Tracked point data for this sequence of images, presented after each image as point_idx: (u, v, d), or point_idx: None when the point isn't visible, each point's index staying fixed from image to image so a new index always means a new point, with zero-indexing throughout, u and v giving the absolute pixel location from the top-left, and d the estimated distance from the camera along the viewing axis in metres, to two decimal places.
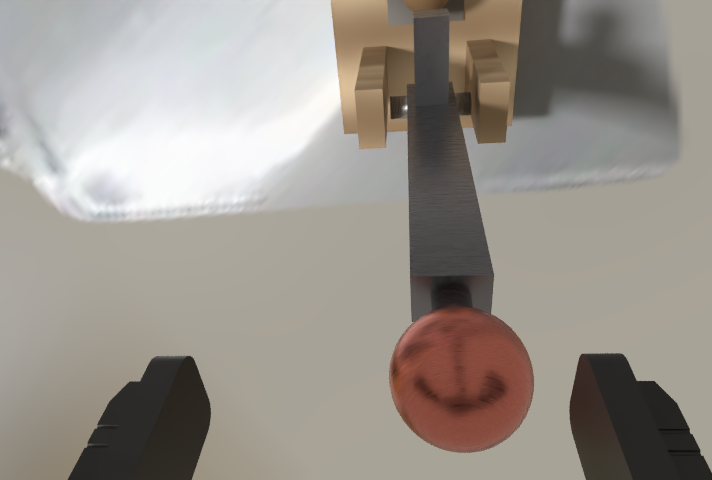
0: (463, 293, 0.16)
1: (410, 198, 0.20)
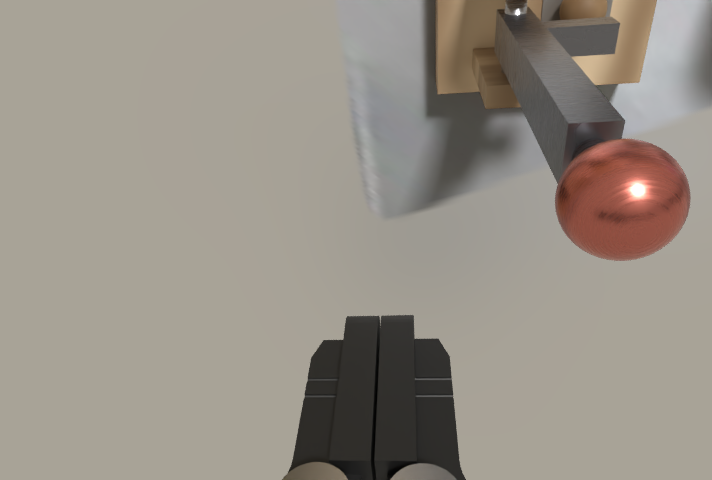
0: None
1: None
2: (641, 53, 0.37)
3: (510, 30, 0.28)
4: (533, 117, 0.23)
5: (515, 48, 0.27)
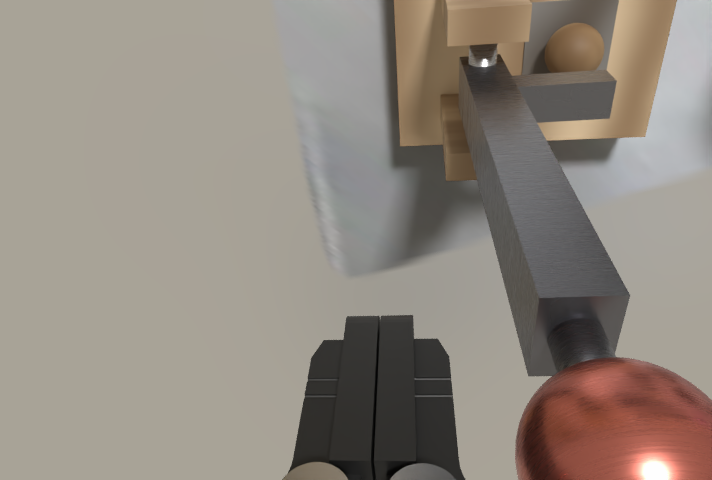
0: None
1: (571, 188, 0.15)
2: (647, 103, 0.30)
3: (472, 93, 0.21)
4: (497, 235, 0.16)
5: (477, 122, 0.20)
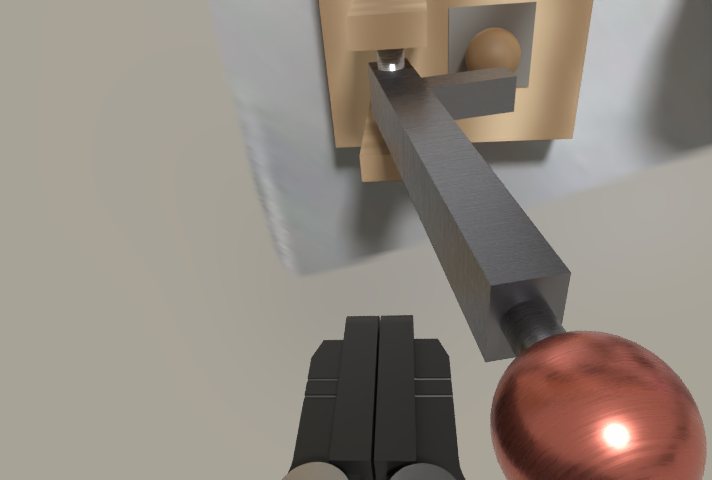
0: None
1: (498, 179, 0.16)
2: (572, 105, 0.31)
3: (387, 97, 0.22)
4: (432, 231, 0.17)
5: (396, 124, 0.20)
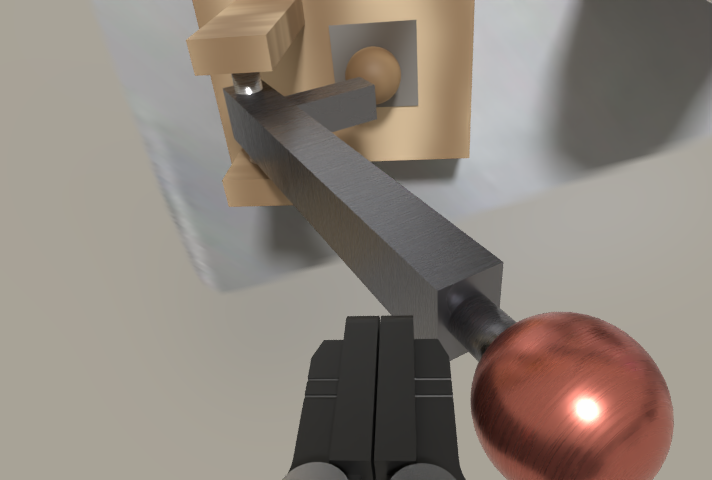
0: None
1: (400, 186, 0.16)
2: (465, 124, 0.30)
3: (257, 120, 0.21)
4: (344, 248, 0.17)
5: (276, 147, 0.20)
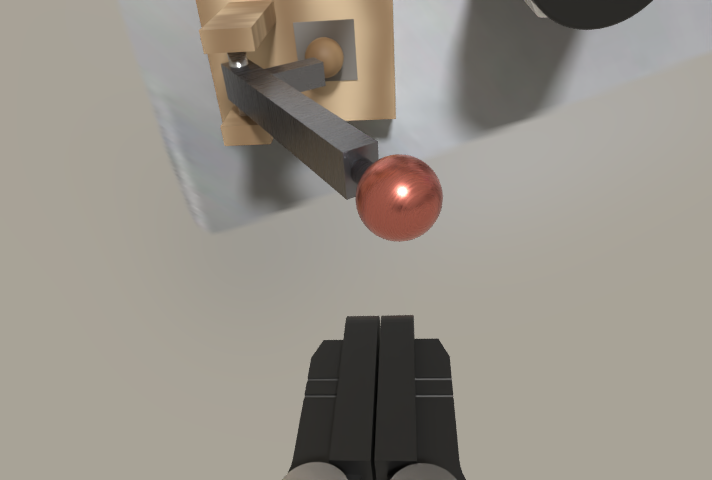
0: None
1: None
2: (391, 94, 0.42)
3: (246, 82, 0.33)
4: (299, 150, 0.28)
5: (258, 97, 0.31)
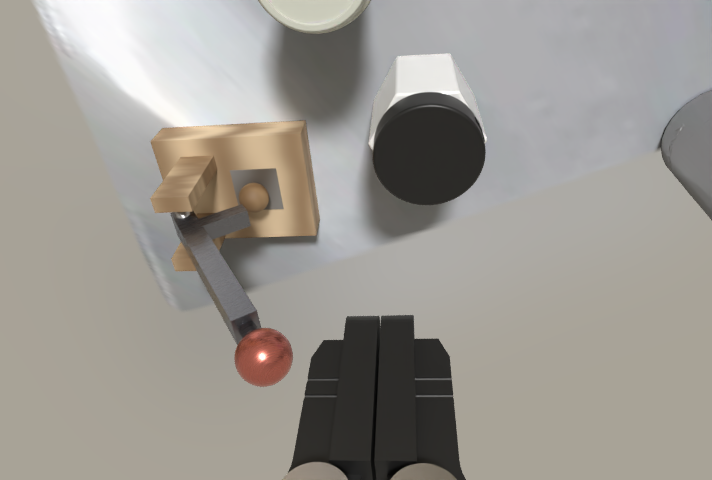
0: None
1: (234, 276, 0.40)
2: (310, 218, 0.54)
3: (184, 237, 0.44)
4: (214, 301, 0.40)
5: (191, 252, 0.43)
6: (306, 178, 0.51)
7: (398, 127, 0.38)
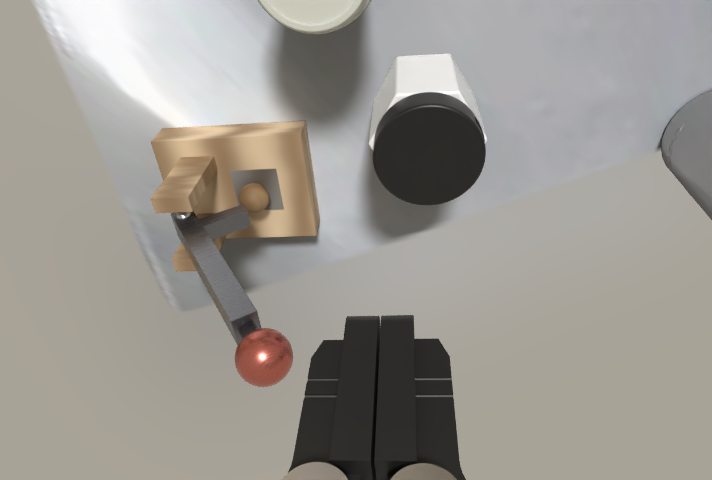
0: None
1: None
2: (311, 218, 0.54)
3: (184, 237, 0.44)
4: (215, 301, 0.40)
5: (191, 252, 0.43)
6: (306, 178, 0.51)
7: (398, 127, 0.38)
